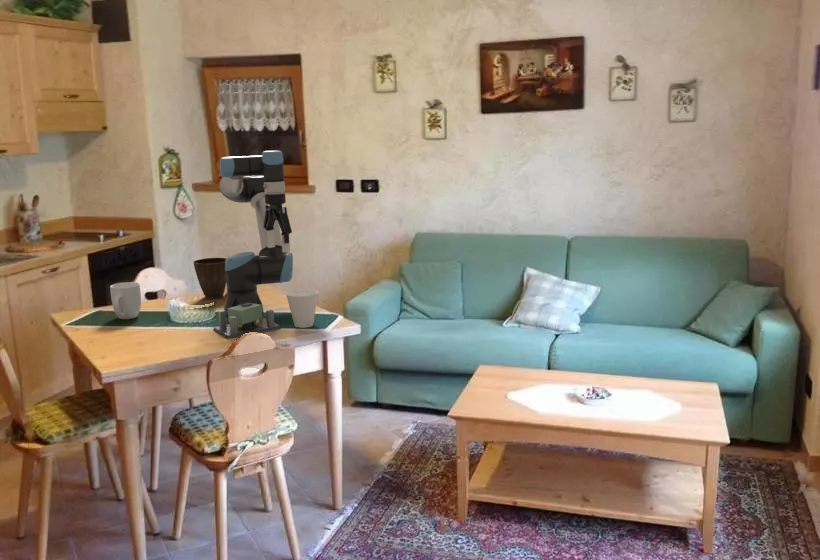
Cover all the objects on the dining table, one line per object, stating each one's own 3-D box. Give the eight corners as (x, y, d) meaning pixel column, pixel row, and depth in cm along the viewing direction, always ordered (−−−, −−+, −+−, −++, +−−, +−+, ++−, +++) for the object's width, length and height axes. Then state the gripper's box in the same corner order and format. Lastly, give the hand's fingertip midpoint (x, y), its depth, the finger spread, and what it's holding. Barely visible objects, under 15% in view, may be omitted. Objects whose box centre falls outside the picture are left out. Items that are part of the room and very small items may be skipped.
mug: (132, 323, 294) (128, 290, 291) (104, 323, 295) (100, 290, 292) (147, 313, 309) (144, 281, 306) (120, 313, 309) (117, 282, 307)
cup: (290, 321, 290) (288, 289, 288) (322, 320, 290) (320, 288, 287) (285, 329, 279) (282, 296, 276) (317, 329, 278) (315, 295, 276)
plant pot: (204, 292, 343) (200, 257, 339) (236, 292, 341) (233, 257, 338) (191, 300, 328) (188, 264, 325) (225, 300, 327) (222, 263, 323)
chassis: (227, 338, 270) (226, 319, 268) (213, 330, 281) (212, 311, 280) (280, 328, 280) (279, 310, 279) (265, 321, 292) (263, 303, 290)
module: (242, 324, 274) (241, 309, 272) (228, 322, 277) (227, 306, 276) (262, 318, 282) (261, 303, 280) (248, 315, 286) (247, 301, 284)
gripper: (252, 191, 293) (256, 246, 297) (279, 196, 272) (283, 255, 277) (270, 190, 297) (274, 244, 301) (298, 194, 276) (302, 252, 281)
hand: (278, 249), depth 289 cm, fingers open, 13 cm apart
